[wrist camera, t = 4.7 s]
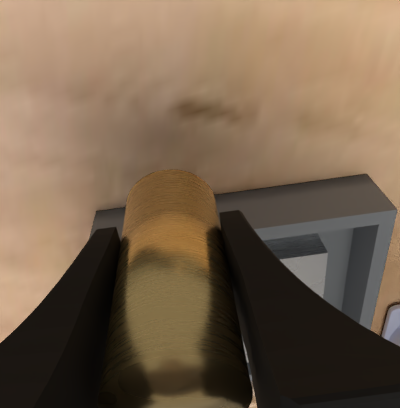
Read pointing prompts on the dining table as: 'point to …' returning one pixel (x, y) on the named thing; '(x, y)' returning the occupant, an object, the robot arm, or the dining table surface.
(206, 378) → the connector
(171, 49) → the dining table surface
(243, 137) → the dining table surface
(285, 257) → the inlet
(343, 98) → the dining table surface
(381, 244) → the box
